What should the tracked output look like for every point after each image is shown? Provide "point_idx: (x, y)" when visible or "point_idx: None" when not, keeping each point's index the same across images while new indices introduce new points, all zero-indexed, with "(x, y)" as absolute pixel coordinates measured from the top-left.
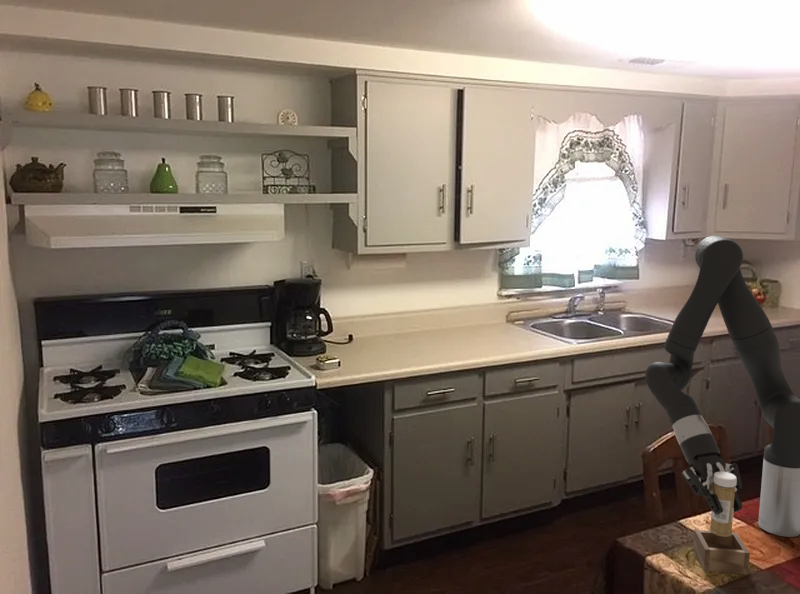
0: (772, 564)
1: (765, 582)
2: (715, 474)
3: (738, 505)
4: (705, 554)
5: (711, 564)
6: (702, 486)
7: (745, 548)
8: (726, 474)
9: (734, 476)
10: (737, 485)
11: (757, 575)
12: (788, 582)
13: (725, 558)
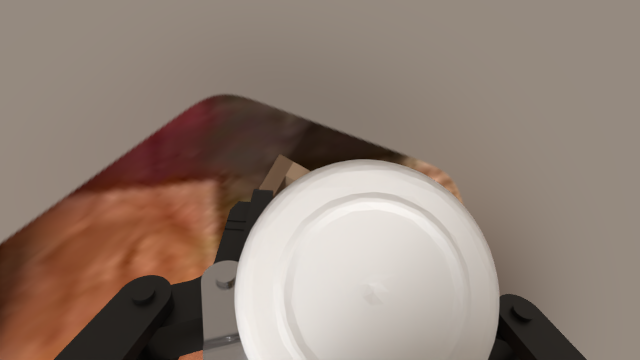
0: (165, 188)
1: (266, 128)
2: (479, 358)
3: (270, 199)
4: None
5: None
6: (534, 339)
7: (269, 181)
8: (344, 305)
9: (290, 218)
10: (169, 296)
11: (258, 160)
12: (208, 107)
13: None
